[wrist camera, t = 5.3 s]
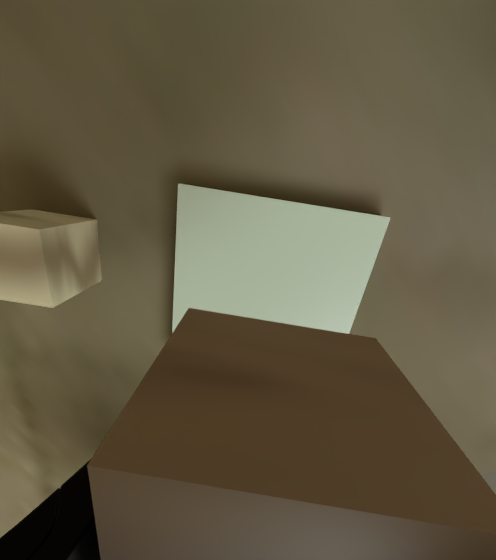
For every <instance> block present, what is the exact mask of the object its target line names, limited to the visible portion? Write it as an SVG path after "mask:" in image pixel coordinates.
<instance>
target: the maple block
mask: <svg viewBox="0 0 496 560" xmlns="http://www.w3.org/2000/svg"><path fill="white" fill-rule="evenodd" d="M100 281H102V274H101V262H100V250H99V238H98V227H97V220H96V219H90V218H84V217H77V216H71V215H65V214H58V213H52V212H46V211H39V210H33V209H30V210H18V211H5V212H0V300H6V301H12V302H19V303H25V304H31V305H38V306H44V307H50V308H54V307H55V306H57V305H59V304H61V303H63V302H64V301H66V300H68V299H70V298H72V297H73V296H75V295H77V294H79V293H81V292H82V291H84V290H86V289H88V288H90V287H91V286H93V285H95V284H97V283H99V282H100Z"/></svg>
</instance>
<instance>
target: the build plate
mask: <svg viewBox="0 0 496 560" xmlns="http://www.w3.org/2000/svg"><path fill="white" fill-rule="evenodd" d="M389 221H390V217H385V216H380V215H373V214H367V213H361V212H355V211H348V210H342V209H336V208H330V207H324V206H317V205H311V204H305V203H299V202H293V201H286V200H280V199H274V198H268V197H262V196H255V195H249V194H243V193H237V192H231V191H224V190H218V189H212V188H206V187H199V186H193V185H187V184H178V198H177V223H176V249H175V274H174V299H173V324H172V333H173V332H174V330H175V328H176V327H177V325H178V324H179V322H180V321H181V319H182V318H183V316H184V314H185V313H186V311H187V310H188V308H193V309H199V310H205V311H211V312H217V313H223V314H230V315H236V316H242V317H248V318H254V319H260V320H266V321H272V322H278V323H285V324H291V325H297V326H303V327H309V328H315V329H321V330H327V331H333V332H340V333H346V334H349V332H350V329H351V327H352V324H353V321H354V318H355V316H356V313H357V310H358V307H359V304H360V302H361V299H362V296H363V293H364V290H365V288H366V285H367V282H368V279H369V277H370V274H371V271H372V268H373V265H374V263H375V260H376V257H377V254H378V251H379V249H380V246H381V243H382V240H383V237H384V235H385V232H386V229H387V226H388V224H389Z"/></svg>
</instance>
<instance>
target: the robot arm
mask: <svg viewBox="0 0 496 560" xmlns="http://www.w3.org/2000/svg"><path fill="white" fill-rule="evenodd" d="M90 460H91V459H90ZM90 460H89V461H88V462H87V463H86V464H85V465H84V466H83V467H82V468H80V469H79V470H78V471H77V472H76V473H75V474H74V475H73V476H72V477H70V478H69V479H68V480H67V481H66V482H65V483H64V484H63V485H62V486H61V489H60V488H58V489H57V490H56V491H55V492H53V493H52V494H51V495H50V496H49V497H48V498H47V499H46V500H45V501H43V502H42V503H41V504H40V505H39V506H38V507H37V508H35V509H34V510H33V511H32V512H31V513H30V514H29V515H27V516H26V517H25V518H24V519H23V520H22V521H20V522H19V523H18V524H17V525H16V526H15V527H13V528H12V529H11V530H10V531H8V532H7V533H6V534H5V535H3V536H2V537H1V538H0V560H101V558H100V551H99V544H98V537H97V530H96V523H95V516H94V509H93V502H92V495H91V489H90V482H89V475H88V468H87V465H88V463H89V462H90Z"/></svg>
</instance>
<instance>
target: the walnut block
mask: <svg viewBox="0 0 496 560" xmlns="http://www.w3.org/2000/svg"><path fill="white" fill-rule="evenodd" d="M87 468H88V475H89V482H90V489H91V495H92V502H93V509H94V516H95V523H96V530H97V537H98V544H99V551H100V558H101V560H496V495H495V493H494V492H493V491H492V490H491V488H490V487H489V485H488V484H487V483H486V482H485V480H484V479H483V478H482V476H481V475H480V474H479V472H478V471H477V470H476V468H475V467H474V466H473V464H472V463H471V462H470V461H469V459H468V458H467V457H466V455H465V454H464V453H463V451H462V450H461V449H460V448H459V446H458V445H457V444H456V442H455V441H454V440H453V438H452V437H451V436H450V435H449V433H448V432H447V431H446V429H445V428H444V427H443V425H442V424H441V423H440V421H439V420H438V419H437V418H436V416H435V415H434V414H433V412H432V411H431V410H430V408H429V407H428V406H427V405H426V403H425V402H424V401H423V399H422V398H421V397H420V395H419V394H418V393H417V391H416V390H415V389H414V388H413V386H412V385H411V384H410V382H409V381H408V380H407V378H406V377H405V376H404V375H403V373H402V372H401V371H400V369H399V368H398V367H397V365H396V364H395V363H394V361H393V360H392V359H391V358H390V356H389V355H388V354H387V352H386V351H385V350H384V348H383V347H382V346H381V345H380V343H379V342H378V341H377V339H376V338H370V337H364V336H358V335H352V334H346V333H340V332H333V331H327V330H321V329H315V328H309V327H303V326H297V325H291V324H285V323H278V322H272V321H266V320H260V319H254V318H248V317H242V316H236V315H230V314H223V313H217V312H211V311H205V310H199V309H193V308H188V310H187V311H186V313H185V314H184V316H183V318H182V319H181V321H180V322H179V324H178V325H177V327H176V328H175V330H174V332H173V333H172V335H171V336H170V338H169V339H168V341H167V342H166V344H165V346H164V347H163V349H162V350H161V352H160V353H159V355H158V356H157V358H156V359H155V361H154V363H153V364H152V366H151V367H150V369H149V370H148V372H147V373H146V375H145V377H144V378H143V380H142V381H141V383H140V384H139V386H138V387H137V389H136V391H135V392H134V394H133V395H132V397H131V398H130V400H129V401H128V403H127V404H126V406H125V408H124V409H123V411H122V412H121V414H120V415H119V417H118V418H117V420H116V422H115V423H114V425H113V426H112V428H111V429H110V431H109V432H108V434H107V436H106V437H105V439H104V440H103V442H102V443H101V445H100V446H99V448H98V449H97V451H96V453H95V454H94V456H93V457H92V459H91V460H90V462H89V463H88V465H87Z"/></svg>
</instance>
